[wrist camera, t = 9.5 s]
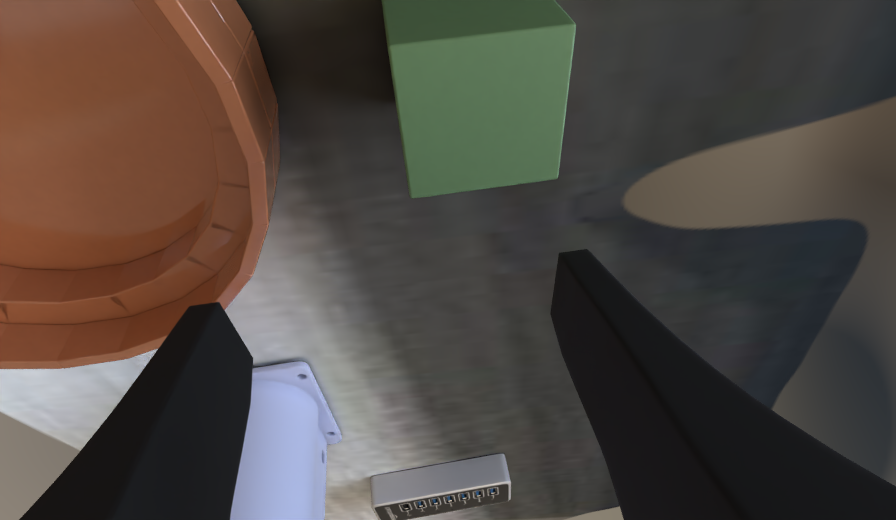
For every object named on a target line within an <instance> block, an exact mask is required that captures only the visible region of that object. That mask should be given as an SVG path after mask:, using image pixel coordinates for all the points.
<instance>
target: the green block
mask: <svg viewBox="0 0 896 520" xmlns="http://www.w3.org/2000/svg"><path fill="white" fill-rule="evenodd" d="M381 1H382V9H383V16H384V24H385V31H386V39H387V46H388V53H389V60H390V67H391V74H392V80H393V87H394V94H395V101H396V108H397V114H398V121H399V128H400V135H401V141H402V148H403V155H404V162H405V169H406V175H407V182H408V189H409V196H410V198H412V199H413V198H420V197H428V196H435V195H443V194H450V193H457V192H465V191H472V190H479V189H487V188H494V187H502V186H509V185H516V184H524V183H531V182H538V181H546V180H553V179H557V178H558V173H559V165H560V156H561V148H562V139H563V131H564V123H565V114H566V106H567V98H568V89H569V81H570V72H571V64H572V56H573V47H574V39H575V30H576V24H575V23H574V21H573V20H572V19H571V18H570V17H569V16H568V15H567V14H566V12H565V11H564V10H563V9H562V8H561V7H560V6H559V5H558V4H557V2H556V1H555V0H381Z"/></svg>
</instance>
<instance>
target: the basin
mask: <svg viewBox="0 0 896 520" xmlns="http://www.w3.org/2000/svg"><path fill="white" fill-rule="evenodd" d="M279 165H280V145H279V119H278V104H277V99H276V96H275V93H274V90H273V87H272V84H271V81H270V78H269V75H268V72H267V69H266V66H265V63H264V60H263V57H262V54H261V51H260V48H259V45H258V42H257V39H256V36H255V33H254V31H253V30H252V26H251V24H250V22H249V21H248V19H247V17H246V16H245V14H244V12H243V11H242V9H241V8H240V6H239V4H238V3H237V1H236V0H0V369H61V368H70V367H77V366H84V365H90V364H97V363H104V362H111V361H117V360H124V359H128V358H131V357H134V356H137V355H140V354H143V353H146V352H149V351H152V350H155V349H158V348H159V347H160V346H161V344H162V343H163V342H164V340H165V339H166V337H167V336H168V334H169V333H170V332H171V330H172V329H173V327H174V326H175V325H176V323H177V322H178V321H179V319H180V318H181V316H182V315H183V314H184V312H185V311H186V310H187V308H188V307H189V306H193V305H200V304H207V303H214V302H220V304H221V306H222V307H223V309H224V310H225V309H226V308H227V307H228V306H229V304H230V303H231V302H232V301H233V299H234V298H235V297H236V296H237V294H238V293H239V292H240V291H241V289H242V288H243V287H244V286H245V285H246V283H247V282H248V281H249V280H250V278H251V277H252V275H253V274H254V271H255V268H256V265H257V261H258V258H259V255H260V252H261V249H262V246H263V242H264V239H265V236H266V233H267V230H268V227H269V221H270V216H271V210H272V205H273V199H274V193H275V188H276V183H277V177H278V172H279Z"/></svg>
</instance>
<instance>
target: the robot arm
mask: <svg viewBox="0 0 896 520" xmlns="http://www.w3.org/2000/svg"><path fill="white" fill-rule="evenodd" d="M551 317H552V321H553V324H554V328H555V332H556V335H557V339H558V342H559V346H560V349H561V353H562V356H563V358H564V361H565V363H566V366H567V368H568V370H569V373H570V375H571V378H572V380H573V383H574V385H575V387H576V390H577V392H578V395H579V397H580V399H581V402H582V404H583V407H584V409H585V411H586V414H587V416H588V418H589V421H590V423H591V426H592V428H593V430H594V433H595V435H596V438H597V440H598V442H599V445H600V447H601V450H602V453H603V455H604V458H605V461H606V464H607V466H608V469H609V473H610V476H611V479H612V482H613V486H614V489H615V492H616V495H617V498H618V502H619V505H620V508H621V512H622V515H623V518H624V520H896V486H894V485H892V484H890V483H889V482H887V481H885V480H883V479H881V478H880V477H878V476H877V475H875V474H873V473H871V472H870V471H868V470H866V469H864V468H863V467H861V466H859V465H857V464H856V463H854V462H852V461H851V460H849V459H847V458H846V457H844V456H842V455H841V454H839V453H837V452H836V451H834V450H833V449H831V448H829V447H828V446H826V445H825V444H823V443H821V442H820V441H819V440H817V439H815V438H814V437H812V436H811V435H809V434H807V433H806V432H804V431H803V430H801V429H800V428H798V427H797V426H795V425H794V424H792V423H790V422H789V421H787V420H786V419H784V418H783V417H781V416H779V415H778V414H777V413H775V412H774V411H772V410H771V409H769V408H768V407H767V406H765V405H764V404H762V403H761V402H759V401H758V400H757V399H755V398H754V397H752V396H751V395H750V394H748V393H747V392H746V391H744V390H743V389H742V388H740V387H739V386H738V385H736V384H735V383H733V382H732V381H731V380H729V379H728V378H727V377H726V376H724V375H723V374H722V373H720V372H719V371H718V370H717V369H715V368H714V367H713V366H712V365H710V364H709V363H708V362H707V361H705V360H704V359H703V358H702V357H701V356H699V355H698V354H697V353H696V352H695V351H693V350H692V349H691V348H690V347H689V346H688V345H686V344H685V343H684V342H683V341H682V340H680V339H679V338H678V337H677V336H676V335H675V334H674V333H673V332H671V331H670V330H669V329H668V328H667V327H666V326H665V325H664V324H663V323H662V322H660V321H659V320H658V319H657V318H656V317H655V316H654V315H653V314H652V313H651V312H650V311H649V310H648V309H646V308H645V307H644V306H643V305H642V304H641V303H640V302H639V301H638V300H637V299H636V298H635V297H634V296H633V295H632V294H631V293H630V292H629V291H628V290H627V289H626V288H625V287H624V286H623V285H622V284H621V283H620V282H619V281H618V280H617V279H616V278H615V277H614V276H613V275H612V274H611V273H610V272H609V271H608V270H607V269H606V268H605V267H604V266H603V265H602V264H601V263H600V262H599V261H598V259H597V258H596V257H595V256H594V255H593V254H592V253H591V252H590V251H588V250H587V249H584V250H577V251H570V252H563V253H559V257H558V264H557V271H556V278H555V285H554V292H553V299H552V306H551ZM341 440H342V434H341V432H340V430H339V428H338V425H337V423H336V421H335V419H334V417H333V415H332V413H331V411H330V409H329V407H328V405H327V402H326V400H325V398H324V396H323V394H322V392H321V390H320V388H319V386H318V384H317V381H316V379H315V377H314V375H313V373H312V371H311V369H310V367H309V365H308V364H307V363H305V362H302V361H297V362H290V363H283V364H277V365H270V366H264V367H257V368H253V357H252V356H251V354H250V352H249V351H248V349H247V347H246V346H245V344H244V342H243V341H242V339H241V337H240V336H239V334H238V332H237V331H236V329H235V327H234V326H233V324H232V322H231V321H230V319H229V317H228V316H227V314H226V312H225V311H224V309H223V307H222V306H221V304H220V302H214V303H207V304H200V305H193V306H189V307H188V308H187V310H186V311H185V312H184V314H183V315H182V316H181V318H180V319H179V321H178V322H177V323H176V325H175V326H174V327H173V329H172V330H171V332H170V333H169V334H168V336H167V337H166V339H165V340H164V342H163V343H162V344H161V346H160V347H159V349H158V350H157V351H156V353H155V354H154V356H153V357H152V358H151V360H150V361H149V363H148V364H147V365H146V367H145V368H144V370H143V371H142V372H141V374H140V375H139V376H138V378H137V379H136V380H135V382H134V383H133V384H132V386H131V387H130V389H129V390H128V391H127V393H126V394H125V395H124V397H123V398H122V399H121V401H120V402H119V403H118V405H117V406H116V407H115V409H114V410H113V411H112V413H111V414H110V415H109V416H108V418H107V419H106V420H105V421H104V423H103V424H102V425H101V426H100V428H99V429H98V430H97V431H96V433H95V434H94V435H93V436H92V438H91V439H90V440H89V441H88V442H87V444H86V445H85V446H84V447H83V449H82V450H81V451H80V452H79V454H78V455H77V456H76V457H75V458H74V460H73V461H72V462H71V463H70V464H69V465H68V467H67V468H66V469H65V470H64V471H63V473H62V474H61V475H60V476H59V477H58V478H57V479H56V481H55V482H54V483H53V484H52V485H51V486H50V487H49V488H48V489H47V490H46V491H45V493H44V494H43V495H42V496H41V497H40V498H39V499H38V500H37V501H36V502H35V503H34V505H33V506H32V507H31V508H30V509H29V510H28V511H27V512H26V513H25V514H24V515H23V517H21V518H20V519H19V520H325V492H326V464H327V445H330V444H336V443H339V442H340V441H341Z"/></svg>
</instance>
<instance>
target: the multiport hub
mask: <svg viewBox="0 0 896 520" xmlns="http://www.w3.org/2000/svg"><path fill="white" fill-rule="evenodd" d="M510 499H511V481H510V477H509V472H508V468H507V463H506V459H505V455H504V454H495V455H490V456H484V457H478V458H473V459H467V460H461V461H456V462H450V463H444V464H439V465H433V466H428V467H422V468H416V469H411V470H405V471H399V472H394V473H388V474H382V475H377V476H373V477H371V507H372V509H373V511H374V513H375V514H376V516H377V518H378V519H379V520H408V519H413V518H419V517H424V516H430V515H435V514H441V513H446V512H452V511H457V510H463V509H469V508H474V507H480V506H485V505H491V504H496V503H502V502H506V501H509V500H510Z"/></svg>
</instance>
